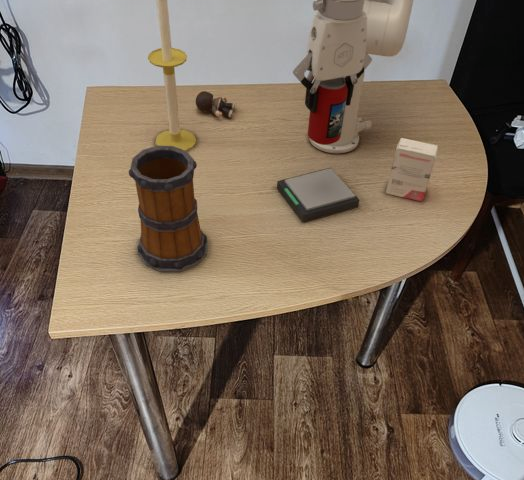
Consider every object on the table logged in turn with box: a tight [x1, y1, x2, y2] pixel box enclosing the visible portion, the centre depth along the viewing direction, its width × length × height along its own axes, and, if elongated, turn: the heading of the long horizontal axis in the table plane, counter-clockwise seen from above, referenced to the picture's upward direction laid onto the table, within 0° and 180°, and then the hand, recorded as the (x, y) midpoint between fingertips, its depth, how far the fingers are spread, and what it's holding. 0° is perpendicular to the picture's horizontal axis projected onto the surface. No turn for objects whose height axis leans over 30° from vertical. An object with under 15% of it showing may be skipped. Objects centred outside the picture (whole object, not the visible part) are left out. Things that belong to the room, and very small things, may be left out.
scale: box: [276, 167, 360, 223], centre depth 124 cm, size 14×13×3 cm
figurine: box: [195, 90, 236, 119], centre depth 144 cm, size 8×5×10 cm
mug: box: [128, 145, 209, 273], centre depth 107 cm, size 19×14×20 cm
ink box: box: [385, 137, 439, 202], centre depth 123 cm, size 9×5×12 cm, turn 71°
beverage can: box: [307, 77, 348, 145], centre depth 108 cm, size 7×7×12 cm
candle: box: [147, 0, 197, 152], centre depth 122 cm, size 10×10×38 cm
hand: (327, 105), depth 107 cm, fingers closed on beverage can, 6 cm apart
